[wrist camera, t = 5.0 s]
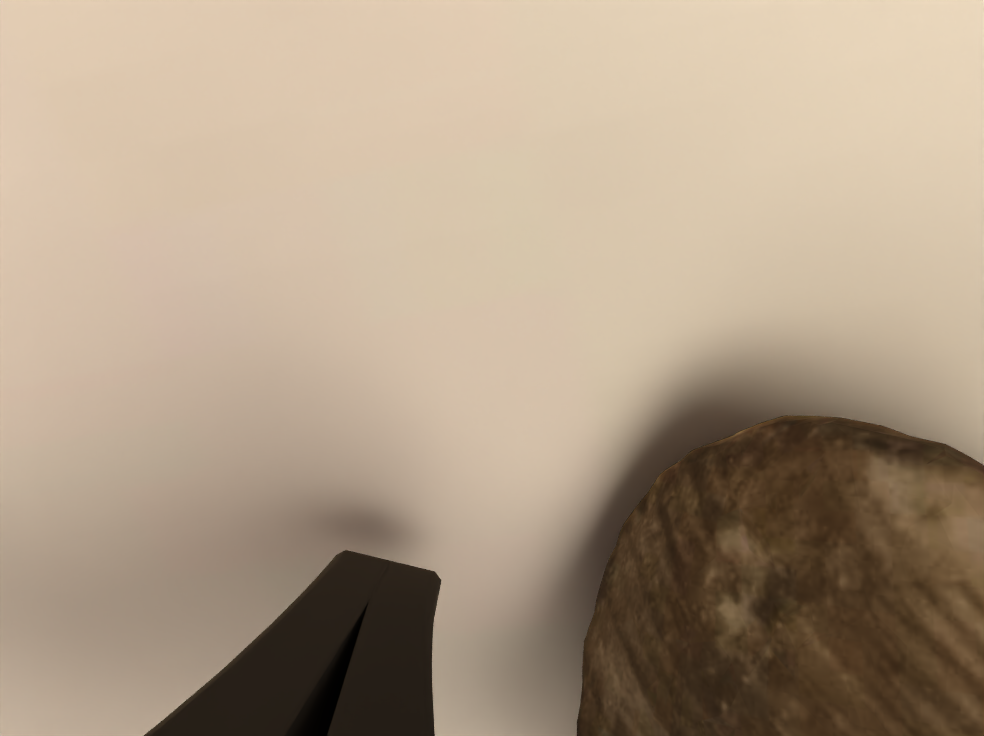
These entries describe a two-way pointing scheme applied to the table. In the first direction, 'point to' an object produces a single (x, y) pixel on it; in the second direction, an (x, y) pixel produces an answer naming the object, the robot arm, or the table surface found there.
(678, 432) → the table surface
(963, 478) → the fossilized seashell
